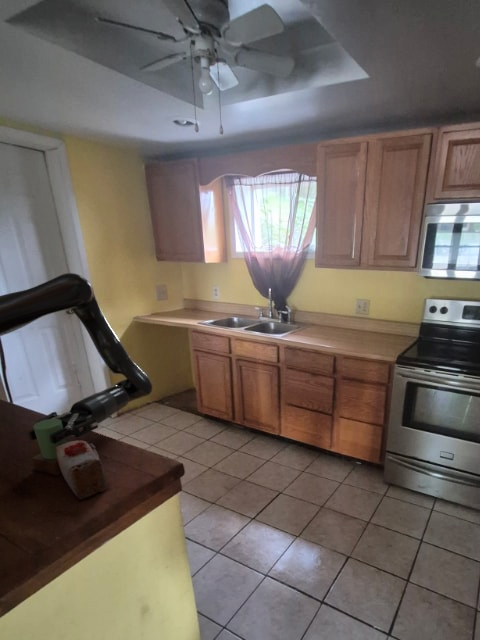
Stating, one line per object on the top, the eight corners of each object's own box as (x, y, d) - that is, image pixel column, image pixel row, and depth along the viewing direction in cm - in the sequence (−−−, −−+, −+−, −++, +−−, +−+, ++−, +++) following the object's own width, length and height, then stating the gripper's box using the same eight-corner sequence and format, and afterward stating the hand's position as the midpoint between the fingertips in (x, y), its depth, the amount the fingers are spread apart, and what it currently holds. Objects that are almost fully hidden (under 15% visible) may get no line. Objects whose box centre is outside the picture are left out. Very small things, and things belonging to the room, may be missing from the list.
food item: (58, 475, 88) (48, 439, 84) (95, 463, 93) (86, 428, 89) (75, 503, 79) (64, 463, 75) (114, 487, 84) (106, 449, 80)
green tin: (41, 461, 87) (32, 431, 84) (43, 450, 91) (34, 421, 88) (69, 455, 89) (61, 425, 86) (69, 445, 94) (61, 416, 91)
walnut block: (35, 470, 90) (31, 457, 88) (61, 455, 96) (57, 443, 94) (58, 475, 88) (54, 463, 86) (82, 460, 94) (79, 448, 92)
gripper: (70, 393, 101) (11, 419, 86) (115, 399, 98) (62, 427, 83) (76, 418, 104) (21, 447, 89) (120, 424, 101) (70, 456, 86)
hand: (41, 438), depth 86 cm, fingers closed on green tin, 5 cm apart
